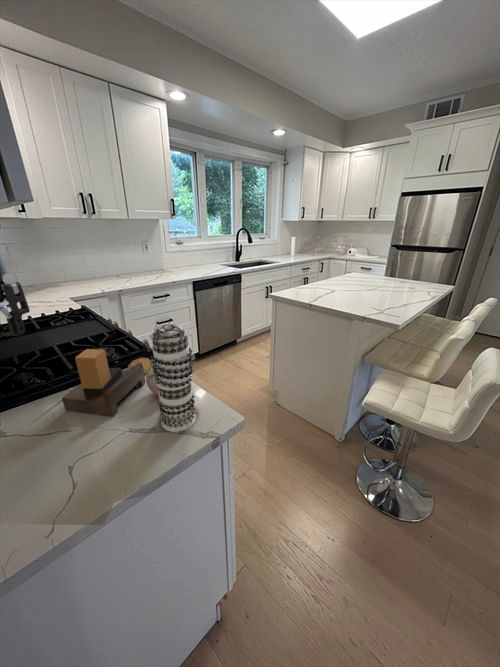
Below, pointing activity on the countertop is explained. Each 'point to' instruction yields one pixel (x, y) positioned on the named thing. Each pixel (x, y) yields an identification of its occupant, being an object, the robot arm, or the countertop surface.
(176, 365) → the decorative candle
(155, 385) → the decorative fruit
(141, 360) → the pastry
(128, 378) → the dark wooden riser stand
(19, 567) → the countertop surface
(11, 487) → the countertop surface
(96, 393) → the two-tone stepped block
